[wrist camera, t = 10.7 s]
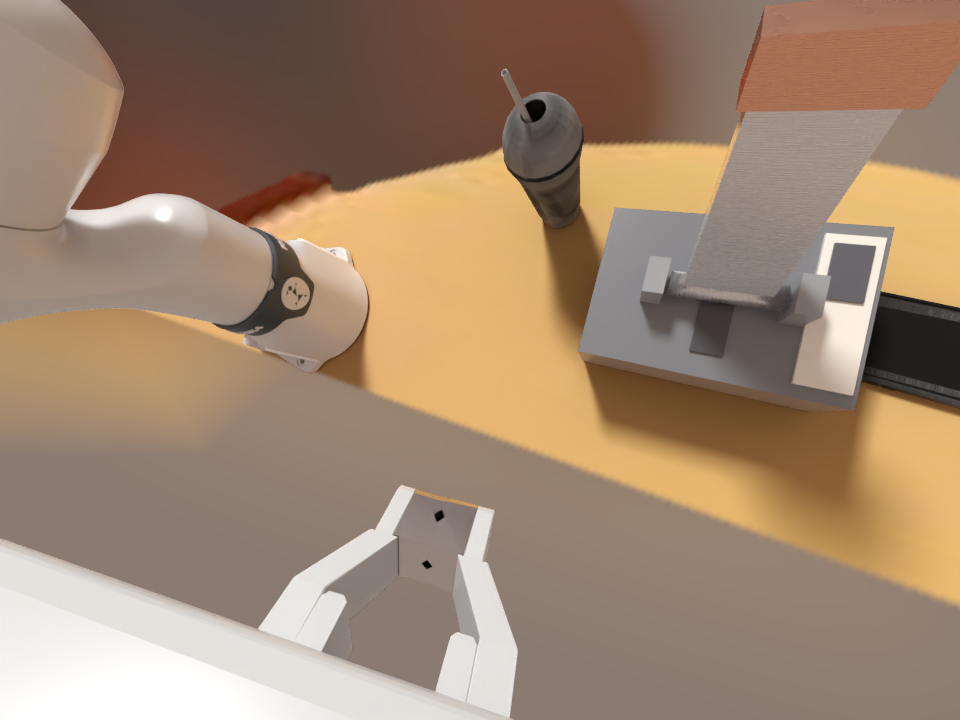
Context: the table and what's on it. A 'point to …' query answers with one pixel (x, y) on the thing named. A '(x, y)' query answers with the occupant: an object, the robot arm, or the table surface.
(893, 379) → the phone
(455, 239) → the table surface
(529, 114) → the beverage cup
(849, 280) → the switch box
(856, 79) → the lever
